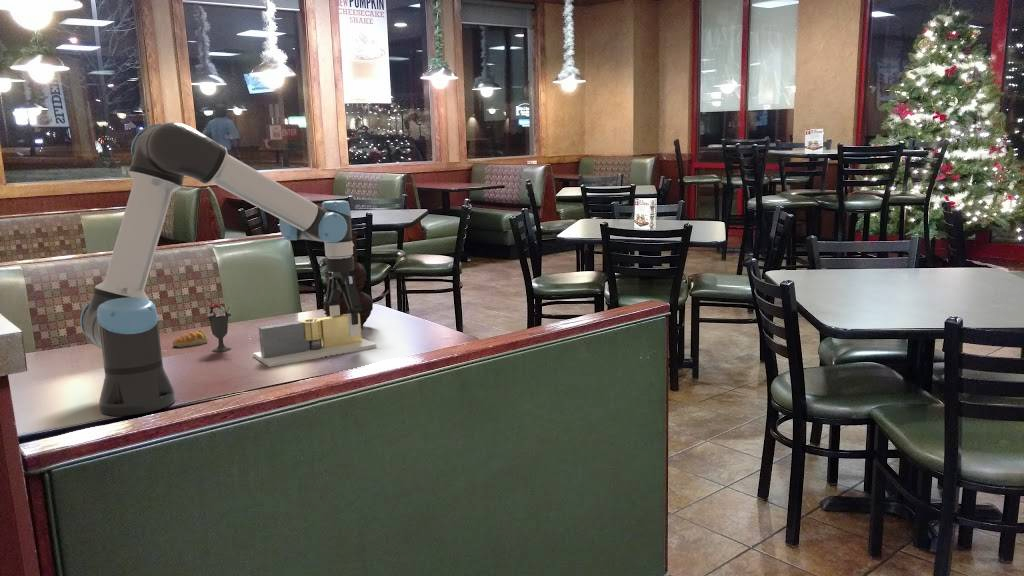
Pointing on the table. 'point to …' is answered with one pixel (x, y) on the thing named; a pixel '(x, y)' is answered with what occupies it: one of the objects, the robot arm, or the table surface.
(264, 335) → the grey upright slab
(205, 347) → the table surface
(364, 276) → the vase
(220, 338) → the sundae
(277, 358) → the jig board
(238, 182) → the robot arm
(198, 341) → the pastry
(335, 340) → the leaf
